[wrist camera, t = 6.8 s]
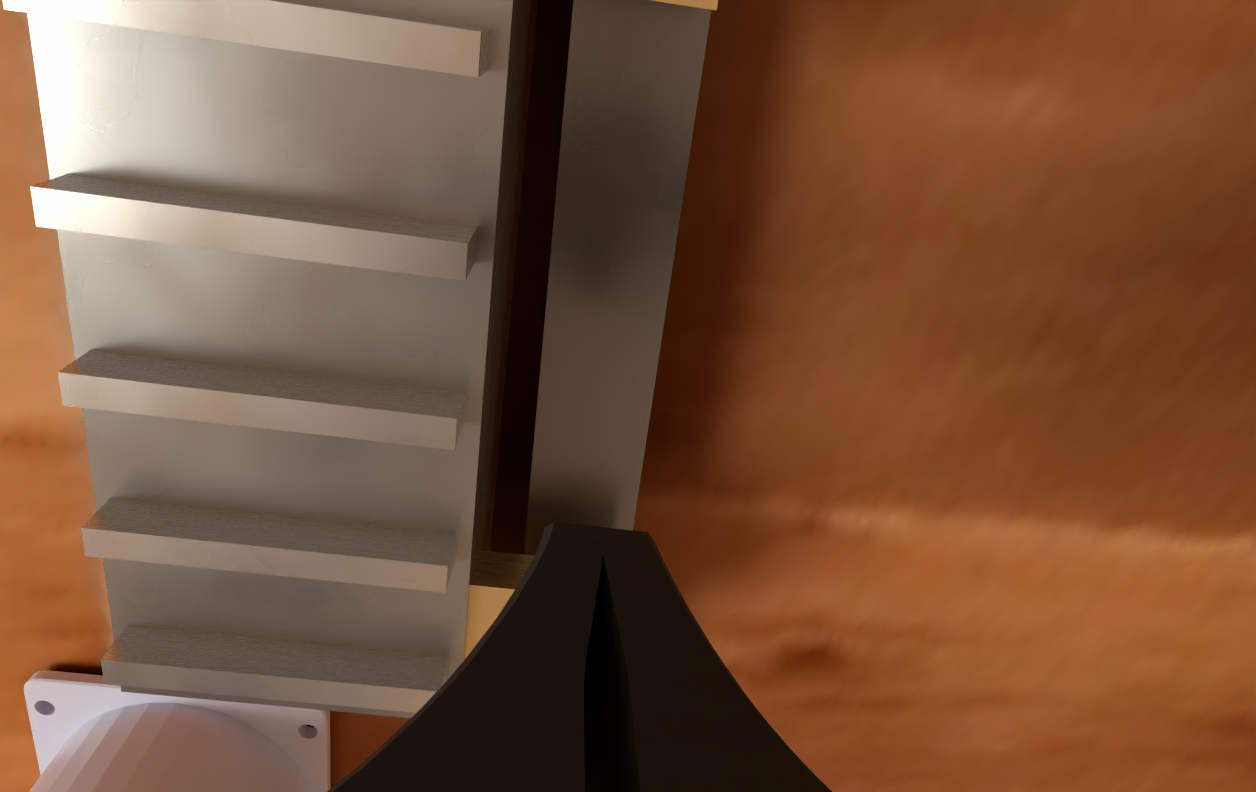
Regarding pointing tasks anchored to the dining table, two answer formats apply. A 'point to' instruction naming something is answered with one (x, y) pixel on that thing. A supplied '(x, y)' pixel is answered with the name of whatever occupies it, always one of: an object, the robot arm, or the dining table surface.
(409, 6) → the heatsink
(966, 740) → the dining table surface
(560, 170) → the gray bar
